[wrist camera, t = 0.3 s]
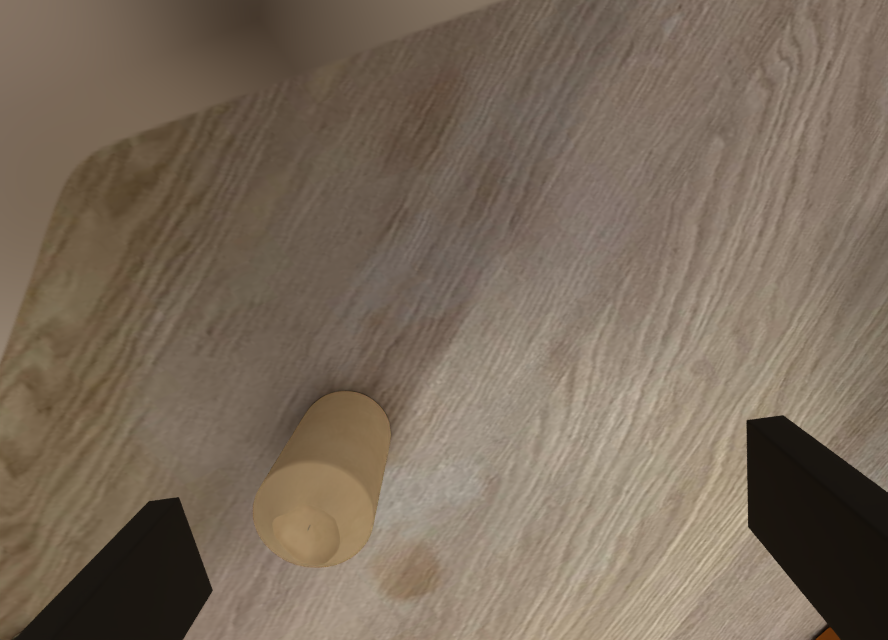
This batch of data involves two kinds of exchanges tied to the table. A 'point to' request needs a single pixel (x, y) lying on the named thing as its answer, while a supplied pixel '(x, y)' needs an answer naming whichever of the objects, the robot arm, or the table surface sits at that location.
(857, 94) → the table surface
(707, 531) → the table surface
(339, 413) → the candle
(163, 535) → the robot arm
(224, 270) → the table surface
